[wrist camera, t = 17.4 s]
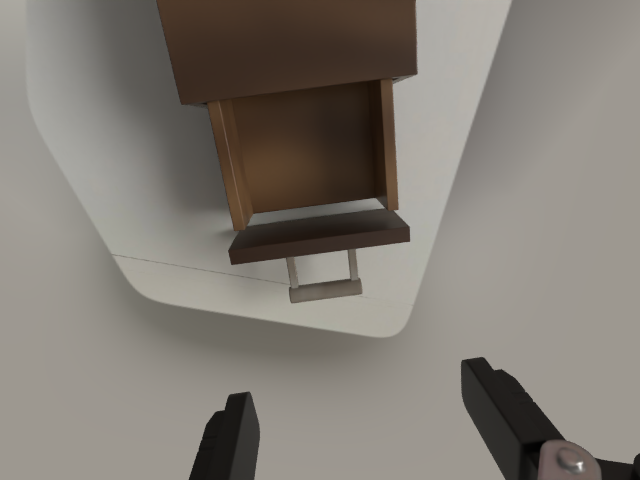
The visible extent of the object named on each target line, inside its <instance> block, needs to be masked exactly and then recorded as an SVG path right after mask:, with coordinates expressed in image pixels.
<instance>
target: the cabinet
mask: <svg viewBox="0 0 640 480" xmlns="http://www.w3.org/2000/svg"><path fill="white" fill-rule="evenodd" d="M156 1H157V5H158V10H159V14H160V18H161V22H162V26H163V31H164V35H165V39H166V43H167V47H168V52H169V56H170V60H171V64H172V68H173V73H174V77H175V81H176V85H177V89H178V94H179V98H180V102H181V104H182V105H189V106H197V107H205V108H208V106H207V102H214V101H221V100H229V99H237V98H245V97H253V96H260V95H268V94H276V93H284V92H291V91H299V90H307V89H315V88H322V87H330V86H338V85H346V84H353V83H361V82H369V81H377V80H385V79H392V82H393V84H394V83H396V82H399V81H402V80H404V79H407V78H409V77H412V76H414V75H416V74H417V73H418V69H417V29H416V0H156Z"/></svg>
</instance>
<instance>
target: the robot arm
mask: <svg viewBox="0 0 640 480" xmlns="http://www.w3.org/2000/svg"><path fill="white" fill-rule="evenodd" d="M461 384H462V385H461V386H462V387H461V388H462V397H463V402H464V405H465V407H466V409H467V411H468V413H469V415H470V417H471V418H472V420H473V422H474V424H475V426H476V427H477V429H478V431H479V433H480V435H481V436H482V438H483V440H484V442H485V443H486V445H487V447H488V449H489V451H490V453H491V454H492V456H493V458H494V460H495V461H496V463H497V465H498V467H499V468H500V470H501V472H502V474H503V476H504V478H505V479H506V480H640V454H638V455H637V456H636V457H635V458H634V463H633V464H627V463H620V462H613V461H607V460H601V459H597V458H594V457H593V456H592V455H591V454H590V453H589V452H588V451H587V450H585V449H584V448H582V447H581V446H579V445H577V444H575V443H572V442H570V441H566V440H565V439H564V437H563V436H562V435H561V434H560V432H559V431H558V430H557V429H556V428H555V426H554V425H553V424H552V423H551V421H550V420H549V419H548V418H547V417H546V415H545V414H544V413H543V412H542V411H541V409H540V408H539V407H538V405H537V404H536V403H535V402H533V399H532V398H531V397H530V396H529V394H528V393H527V392H525V390H524V389H523V387H522V386H521V385H520V383H519V382H518V381H517V380H516V379H515V378H514V377H513V376H511V375H509V374H508V373H506V372H505V371H503V370H502V369H501V370H493V369H492V367H491V366H490V365H489V363H488V362H487V361H486V359H485V358H483V357H479V358H473V359H466V360H462V362H461ZM259 440H260V428H259V422H258V418H257V414H256V410H255V407H254V403H253V399H252V396H251V393H250V392H243V393H236V394H230V395H229V397H228V399H227V403H226V407H225V410H223V411H217V412H215V413H214V415H213V416H212V418H211V419H210V420H209V422H208V423H207V424H206V427H205V431H204V434H203V437H202V441H201V443H200V446H199V451H198V453H197V456H196V459H195V462H194V465H193V468H192V471H191V474H190V477H189V480H254V477H255V469H256V462H257V455H258V447H259Z"/></svg>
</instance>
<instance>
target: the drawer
mask: <svg viewBox="0 0 640 480" xmlns="http://www.w3.org/2000/svg"><path fill="white" fill-rule="evenodd" d="M207 106H208V110H209V115H210V120H211V124H212V129H213V134H214V138H215V143H216V148H217V152H218V157H219V162H220V166H221V171H222V176H223V180H224V185H225V190H226V194H227V199H228V204H229V208H230V213H231V218H232V222H233V227H234V231H239V232H238V234H237V236H236V237H235V239H234V241H233V243H232V244H231V246H230V248H229V250H228V252H229V257H230V261H231V265H235V264H243V263H250V262H258V261H266V260H273V259H281V258H286V260H287V266H288V272H289V278H290V284H291V287H289V295H290V301H291V303H298V302H306V301H314V300H321V299H329V298H336V297H344V296H351V295H359V294H362V284H361V279H360V278H358V270H357V260H356V249H357V248H364V247H372V246H380V245H387V244H395V243H402V242H410V227H409V226H408V225H407V224H406V223H405V222H404V221H403V220H402V219H401V218H400V217H399V216H398V215H397V214H396V213H395V212H394V211H393V210H398V209H399V208H398V187H397V166H396V145H395V124H394V103H393V82H392V79H385V80H377V81H369V82H361V83H353V84H346V85H338V86H330V87H322V88H315V89H307V90H299V91H291V92H284V93H276V94H268V95H260V96H253V97H245V98H237V99H229V100H221V101H214V102H207ZM370 198H376V199H377V200H378V201H379V202H380V203H381V204H382V205H383V206H384V207H385V208H384V209H376V210H369V211H361V212H354V213H346V214H338V215H331V216H323V217H315V218H308V219H300V220H292V221H285V222H277V223H269V224H262V225H254V226H247V225H248V223H249V221H250V219H251V217H252V215H253V214H255V213H263V212H270V211H278V210H286V209H293V208H301V207H309V206H316V205H324V204H332V203H339V202H347V201H355V200H362V199H370ZM342 250H348V259H349V269H350V278H351V279H344V280H336V281H329V282H321V283H314V284H306V285H299V286H298V279H297V272H296V266H295V260H294V257H296V256H304V255H311V254H319V253H326V252H334V251H342Z"/></svg>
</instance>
